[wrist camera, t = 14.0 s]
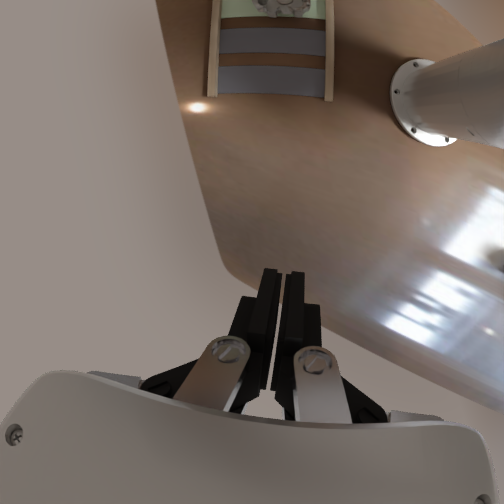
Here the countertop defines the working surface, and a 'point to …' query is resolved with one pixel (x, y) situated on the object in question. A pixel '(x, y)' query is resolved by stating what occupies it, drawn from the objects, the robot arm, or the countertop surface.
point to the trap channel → (216, 41)
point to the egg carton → (282, 7)
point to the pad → (241, 5)
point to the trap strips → (272, 76)
